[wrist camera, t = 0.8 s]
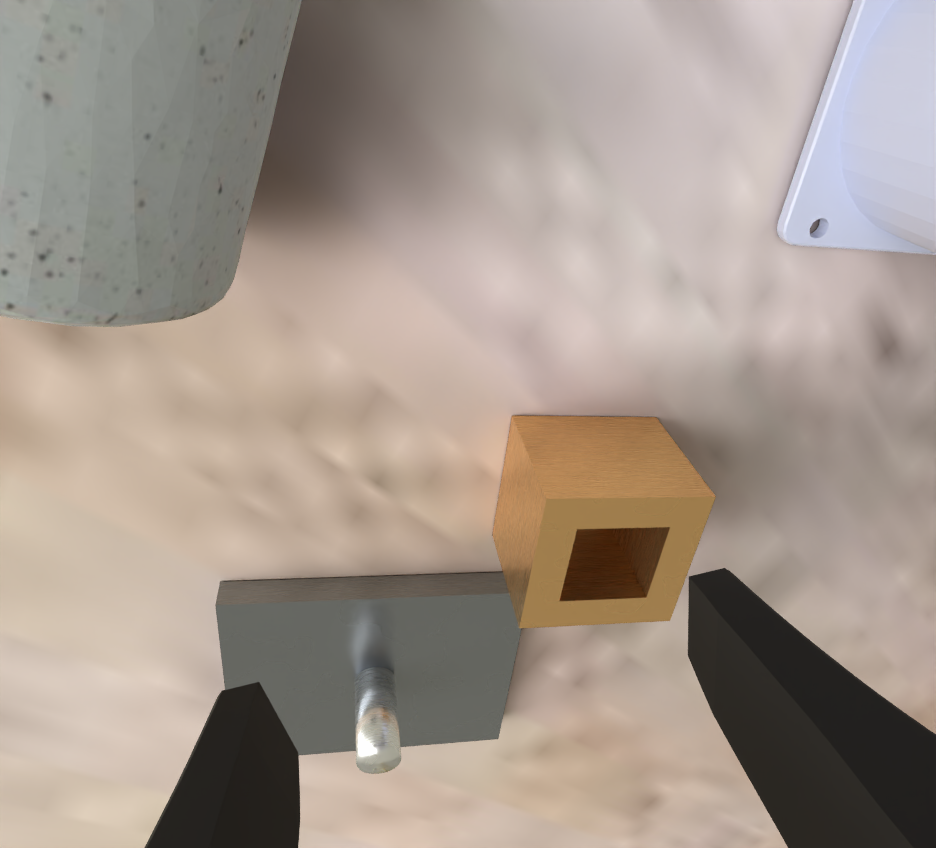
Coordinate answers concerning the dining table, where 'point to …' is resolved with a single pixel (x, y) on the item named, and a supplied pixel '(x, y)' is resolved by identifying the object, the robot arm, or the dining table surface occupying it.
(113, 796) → the dining table surface
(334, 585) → the flat gray rectangular block
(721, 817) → the dining table surface
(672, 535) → the wooden block with hole
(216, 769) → the robot arm
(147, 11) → the ceramic mug
